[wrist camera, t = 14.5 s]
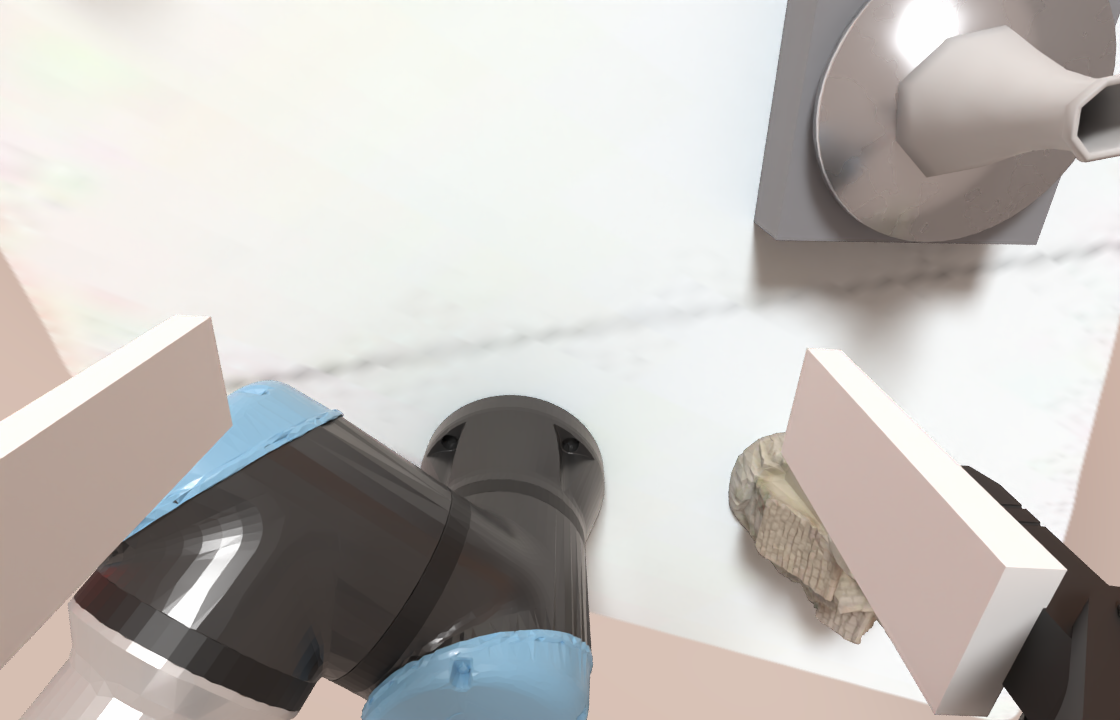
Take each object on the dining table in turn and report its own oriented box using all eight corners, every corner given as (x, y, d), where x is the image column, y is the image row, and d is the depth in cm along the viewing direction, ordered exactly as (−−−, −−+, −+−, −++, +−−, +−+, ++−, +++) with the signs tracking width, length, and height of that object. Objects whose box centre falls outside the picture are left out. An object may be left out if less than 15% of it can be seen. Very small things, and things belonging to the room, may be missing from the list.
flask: (1016, -3, 30) (1209, -35, 21) (1045, 132, 33) (1227, 154, 24) (873, 77, 32) (995, 79, 23) (912, 199, 34) (1035, 244, 25)
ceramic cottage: (757, 414, 48) (833, 562, 35) (938, 454, 51) (1072, 607, 37) (688, 549, 56) (730, 711, 43) (848, 578, 58) (934, 742, 45)
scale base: (992, 226, 42) (1051, 247, 37) (753, 222, 42) (779, 242, 37) (1082, -51, 35) (1170, -72, 30) (796, -56, 35) (835, -77, 30)
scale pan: (1040, 240, 36) (1052, 244, 35) (790, 235, 36) (796, 239, 35) (1150, -61, 30) (1168, -65, 29) (845, -66, 30) (853, -70, 29)
